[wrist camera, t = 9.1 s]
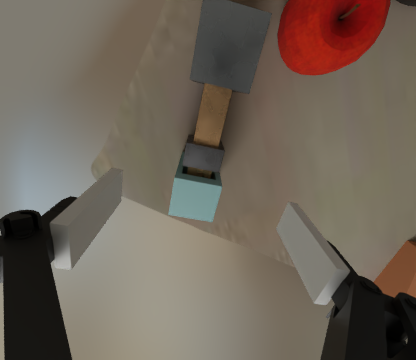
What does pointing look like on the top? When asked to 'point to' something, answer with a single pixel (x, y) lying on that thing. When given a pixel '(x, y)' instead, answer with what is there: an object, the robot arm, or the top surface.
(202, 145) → the collared tan post
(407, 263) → the crank
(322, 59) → the apple
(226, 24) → the sleeve
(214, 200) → the socket block
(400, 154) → the top surface
